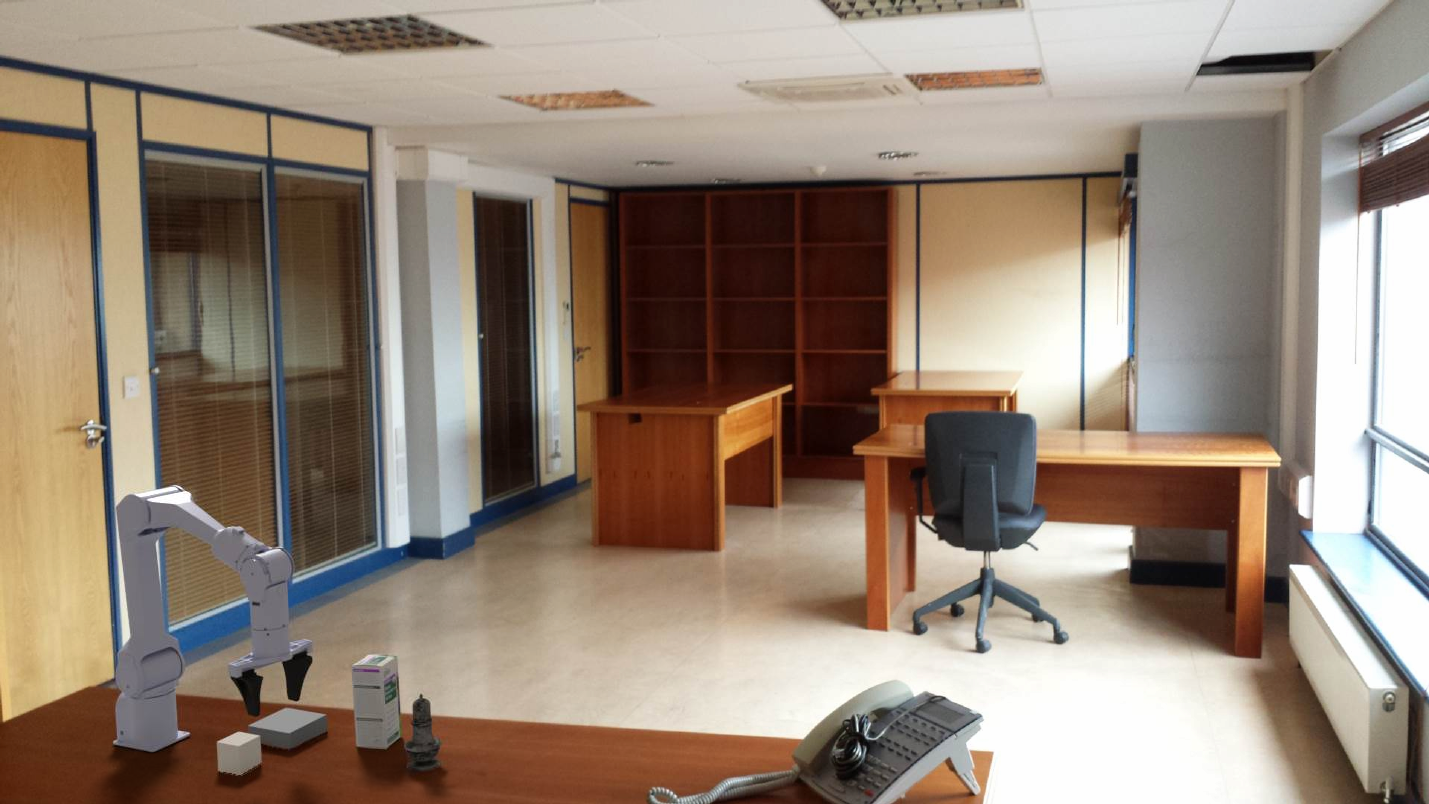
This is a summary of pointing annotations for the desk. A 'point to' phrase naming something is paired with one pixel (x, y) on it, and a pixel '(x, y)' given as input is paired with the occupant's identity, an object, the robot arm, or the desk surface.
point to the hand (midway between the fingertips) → (274, 707)
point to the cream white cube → (238, 753)
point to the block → (289, 727)
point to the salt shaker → (422, 739)
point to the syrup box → (376, 701)
